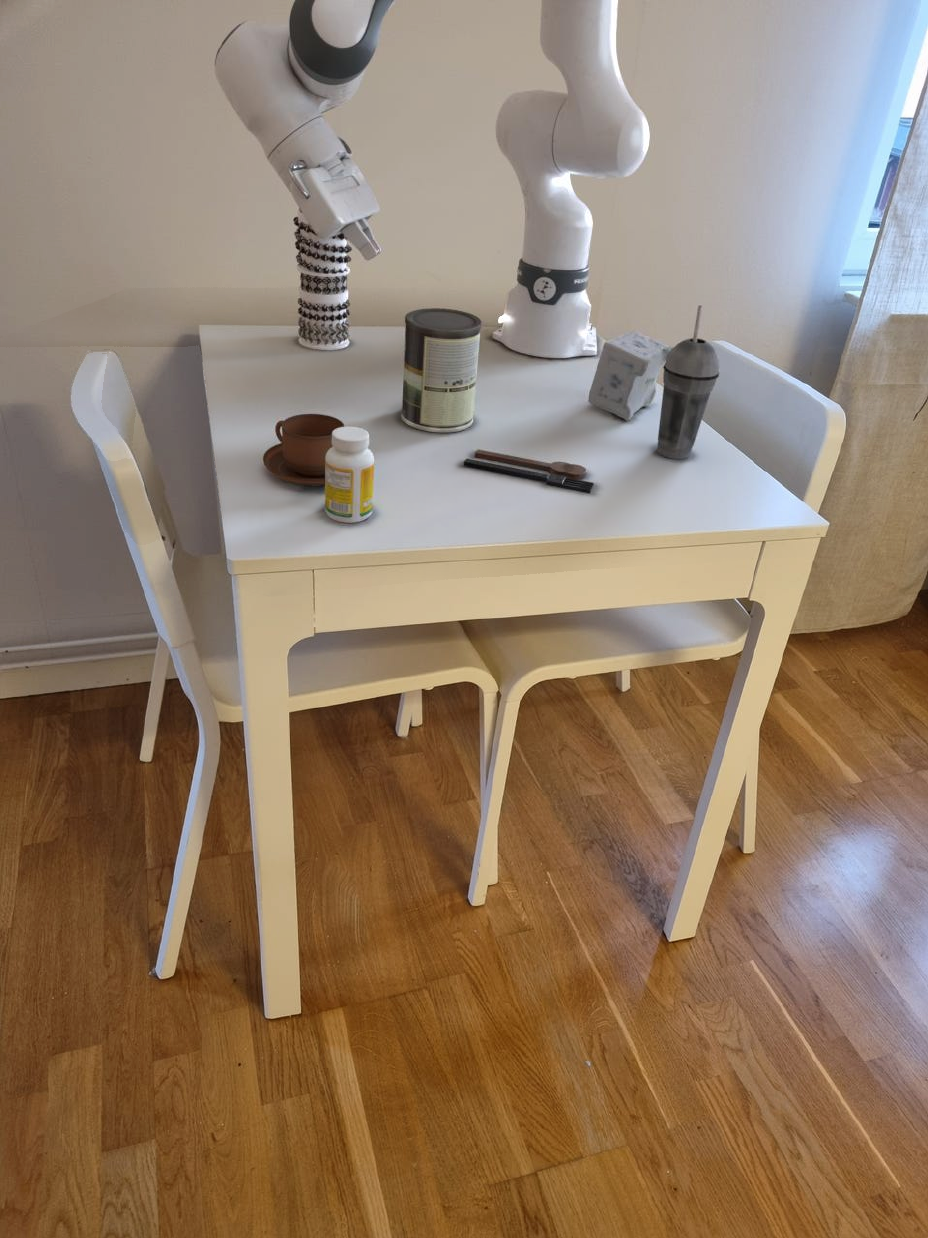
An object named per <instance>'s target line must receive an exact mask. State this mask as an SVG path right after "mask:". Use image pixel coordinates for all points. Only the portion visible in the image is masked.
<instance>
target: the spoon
mask: <svg viewBox="0 0 928 1238" xmlns="http://www.w3.org/2000/svg"><path fill="white" fill-rule="evenodd" d="M474 457H475V458H480V459H484V460H485V459H486V460H490V461H495V462H501V463H506V464H511V465H516V466H521V467H527V468H531V469H537V470H541V471H547V472H549V473H550V474H555V475H560V476H565V477H567V478H572V479H577V480H583V479H584V478H586V477H587V473H588V472H587V468H586V467H585V466H582V465H579V464H576V463H570V462H566V461H553V462H551V463H550V462H546V461H540V460H535V459H530V458H525V457H521V456H520V457H519V456H514V455H509V454H504V453H499V452H493V451H489V450H483V449H480V448H479V449H477V450H476V451H475V452H474Z"/></svg>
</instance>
